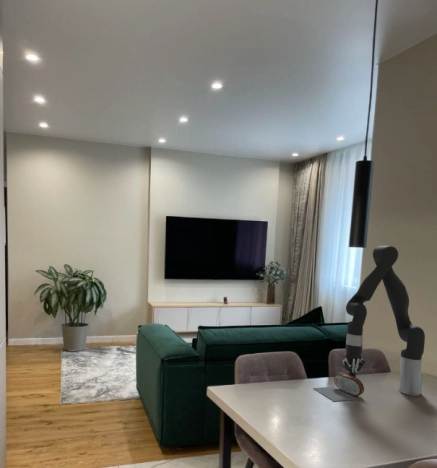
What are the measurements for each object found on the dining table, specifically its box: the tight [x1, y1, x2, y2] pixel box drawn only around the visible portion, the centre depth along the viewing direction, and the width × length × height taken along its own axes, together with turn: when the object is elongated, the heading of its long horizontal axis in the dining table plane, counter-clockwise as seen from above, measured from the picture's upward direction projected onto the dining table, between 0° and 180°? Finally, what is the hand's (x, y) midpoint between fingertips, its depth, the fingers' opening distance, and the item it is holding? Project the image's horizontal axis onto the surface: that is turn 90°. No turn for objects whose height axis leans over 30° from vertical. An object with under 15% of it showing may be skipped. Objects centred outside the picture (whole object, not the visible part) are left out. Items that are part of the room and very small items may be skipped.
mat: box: [312, 386, 357, 403], centre depth 177 cm, size 12×16×1 cm
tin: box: [333, 371, 365, 397], centre depth 179 cm, size 15×3×8 cm, turn 37°
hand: (352, 379), depth 181 cm, fingers closed
